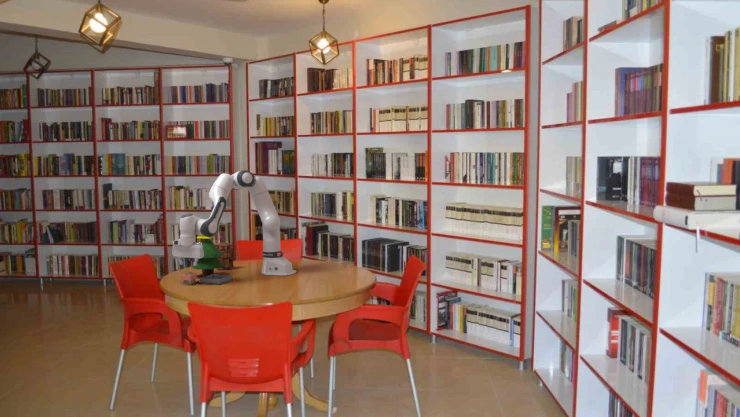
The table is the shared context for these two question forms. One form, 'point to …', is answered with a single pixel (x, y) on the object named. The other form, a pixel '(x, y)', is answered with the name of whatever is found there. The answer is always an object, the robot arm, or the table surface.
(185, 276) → the ring
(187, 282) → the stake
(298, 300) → the table surface
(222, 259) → the wooden figurine
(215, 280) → the tray
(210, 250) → the decorative tree
